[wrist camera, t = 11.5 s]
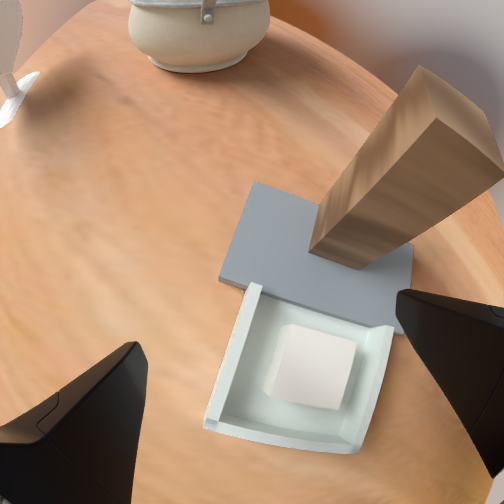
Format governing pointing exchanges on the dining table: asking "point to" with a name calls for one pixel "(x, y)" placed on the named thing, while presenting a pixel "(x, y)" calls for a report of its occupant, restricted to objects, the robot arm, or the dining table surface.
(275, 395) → the tile
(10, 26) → the heart sculpture
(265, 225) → the board
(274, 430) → the tray
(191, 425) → the dining table surface
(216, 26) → the kettle
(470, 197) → the walnut block
